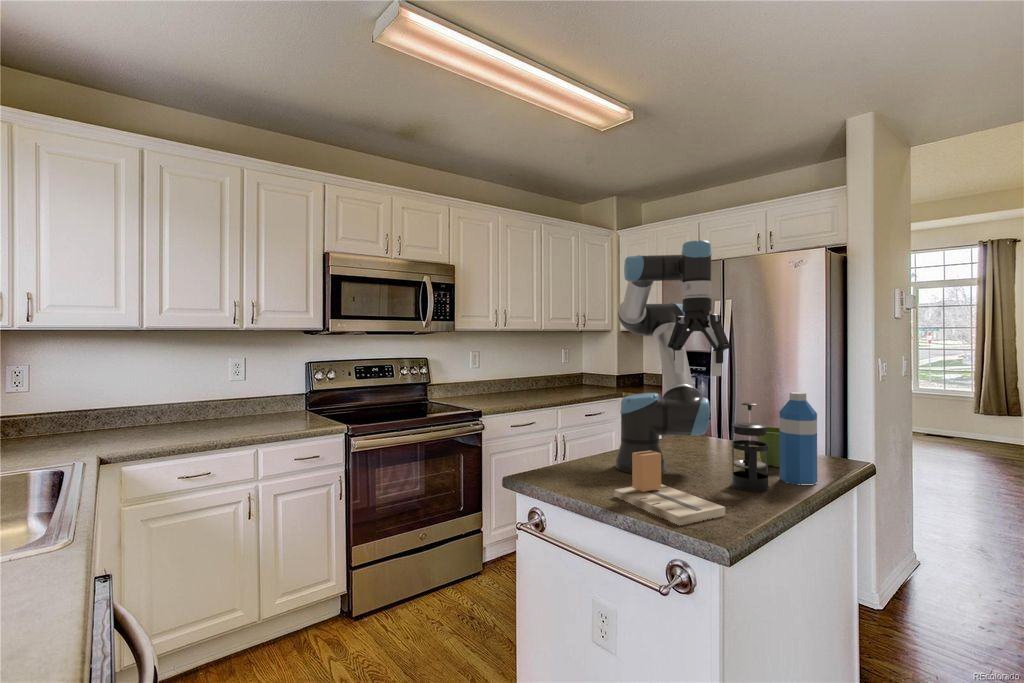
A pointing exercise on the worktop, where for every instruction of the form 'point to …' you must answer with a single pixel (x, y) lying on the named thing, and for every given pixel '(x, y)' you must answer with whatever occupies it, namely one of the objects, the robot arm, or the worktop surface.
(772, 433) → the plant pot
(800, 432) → the water bottle
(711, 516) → the fader board
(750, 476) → the french press
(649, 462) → the block
